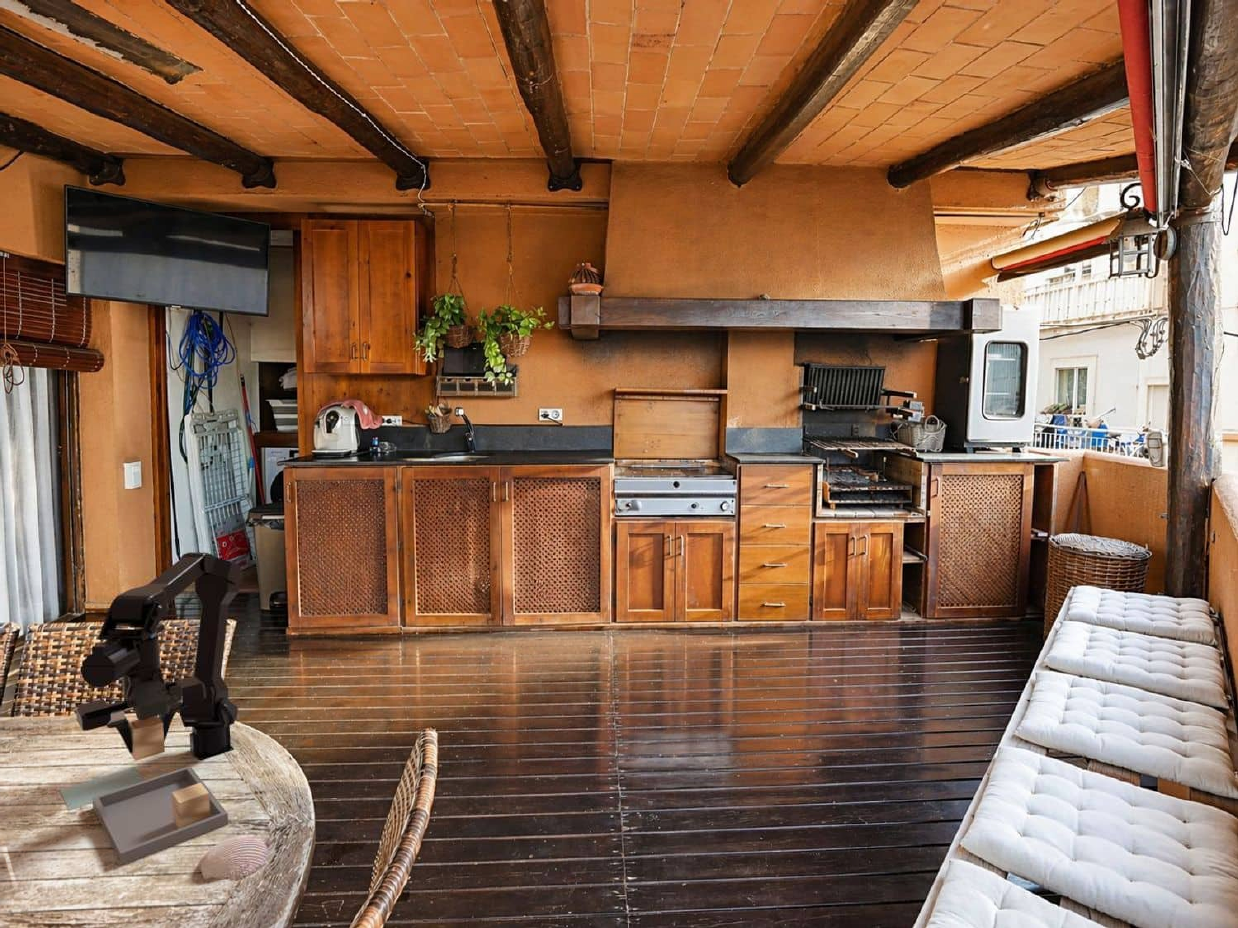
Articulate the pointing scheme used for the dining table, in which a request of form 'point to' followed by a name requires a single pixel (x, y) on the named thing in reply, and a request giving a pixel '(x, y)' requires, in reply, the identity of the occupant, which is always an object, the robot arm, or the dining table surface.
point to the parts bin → (151, 815)
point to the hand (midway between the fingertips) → (146, 747)
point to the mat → (99, 787)
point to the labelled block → (147, 737)
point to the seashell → (233, 858)
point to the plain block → (190, 805)
